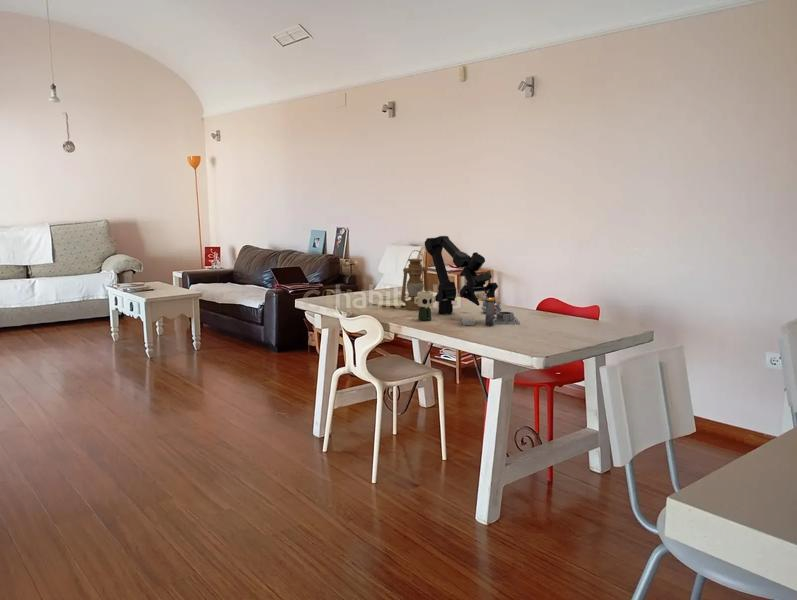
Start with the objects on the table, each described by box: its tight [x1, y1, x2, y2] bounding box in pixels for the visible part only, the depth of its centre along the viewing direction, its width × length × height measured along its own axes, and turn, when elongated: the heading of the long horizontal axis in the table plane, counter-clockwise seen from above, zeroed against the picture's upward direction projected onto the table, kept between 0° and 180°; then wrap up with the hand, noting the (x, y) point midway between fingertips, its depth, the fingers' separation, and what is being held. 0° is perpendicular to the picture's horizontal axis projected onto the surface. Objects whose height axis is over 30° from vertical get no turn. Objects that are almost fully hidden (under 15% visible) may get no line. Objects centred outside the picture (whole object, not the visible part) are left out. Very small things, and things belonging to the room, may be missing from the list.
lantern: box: [400, 250, 430, 311], centre depth 328 cm, size 15×10×30 cm
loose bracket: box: [461, 316, 475, 326], centre depth 292 cm, size 5×8×2 cm, turn 178°
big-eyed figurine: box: [414, 291, 436, 321], centre depth 300 cm, size 11×7×13 cm, turn 114°
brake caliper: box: [481, 293, 503, 315], centre depth 320 cm, size 11×11×12 cm
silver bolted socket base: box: [493, 311, 521, 325], centre depth 298 cm, size 12×12×4 cm
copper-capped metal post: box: [484, 297, 496, 327], centre depth 288 cm, size 4×4×12 cm
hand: (486, 304), depth 289 cm, fingers open, 9 cm apart
